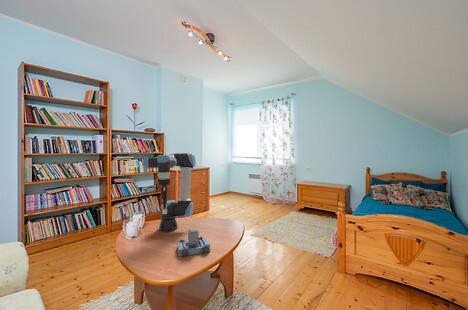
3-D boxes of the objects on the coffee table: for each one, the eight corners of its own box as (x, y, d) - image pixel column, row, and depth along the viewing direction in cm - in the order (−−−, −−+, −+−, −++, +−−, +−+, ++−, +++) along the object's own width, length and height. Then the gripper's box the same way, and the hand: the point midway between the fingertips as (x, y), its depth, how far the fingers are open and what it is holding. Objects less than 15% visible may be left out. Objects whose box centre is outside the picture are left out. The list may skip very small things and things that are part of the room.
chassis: (177, 246, 145) (177, 240, 145) (205, 242, 152) (205, 236, 151) (179, 257, 130) (179, 250, 129) (211, 252, 136) (211, 245, 136)
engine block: (188, 246, 142) (188, 228, 142) (197, 245, 144) (197, 227, 144) (189, 250, 137) (189, 231, 136) (198, 248, 139) (198, 230, 138)
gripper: (157, 176, 148) (158, 206, 148) (157, 181, 124) (158, 217, 125) (169, 176, 150) (169, 205, 151) (171, 180, 127) (171, 215, 127)
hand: (164, 210), depth 138 cm, fingers open, 13 cm apart
